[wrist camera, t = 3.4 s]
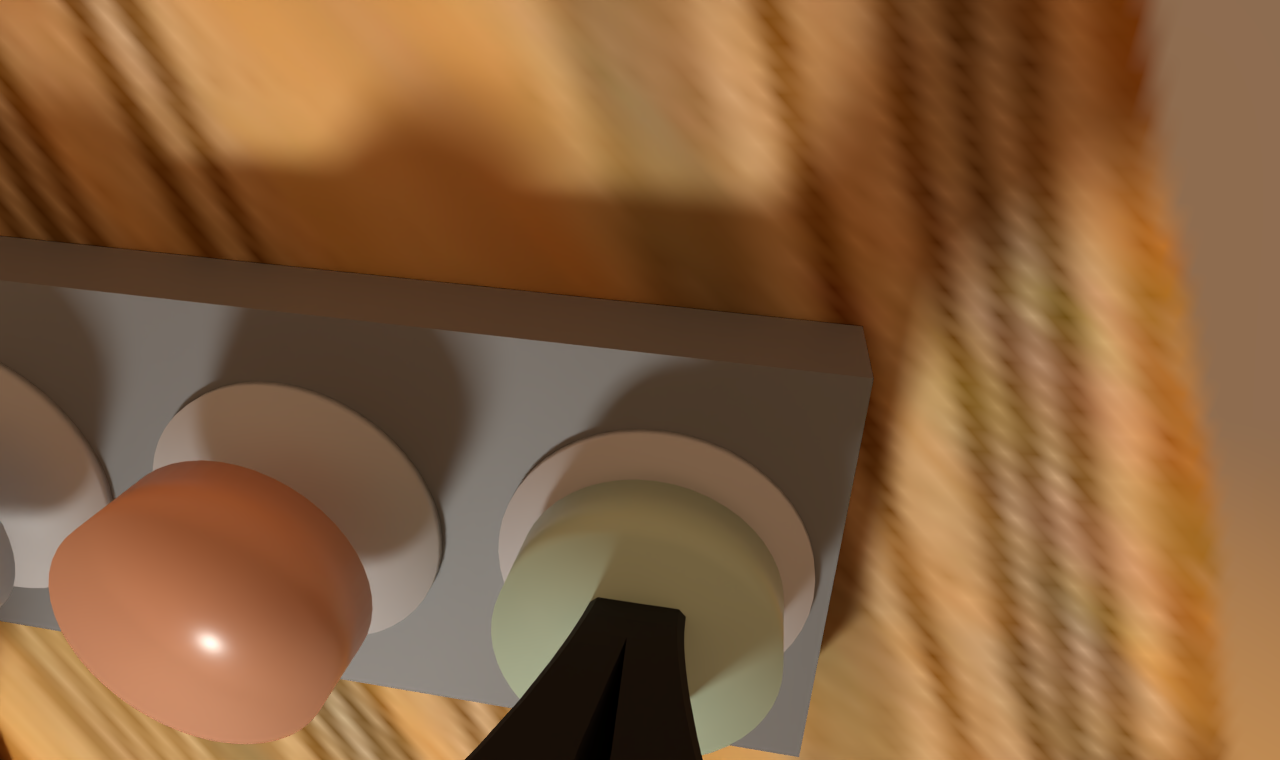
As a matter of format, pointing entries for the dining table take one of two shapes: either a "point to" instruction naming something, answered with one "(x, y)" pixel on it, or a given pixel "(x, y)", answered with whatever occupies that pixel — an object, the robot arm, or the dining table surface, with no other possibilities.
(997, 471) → the dining table surface
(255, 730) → the terracotta button
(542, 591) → the green button
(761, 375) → the button board
